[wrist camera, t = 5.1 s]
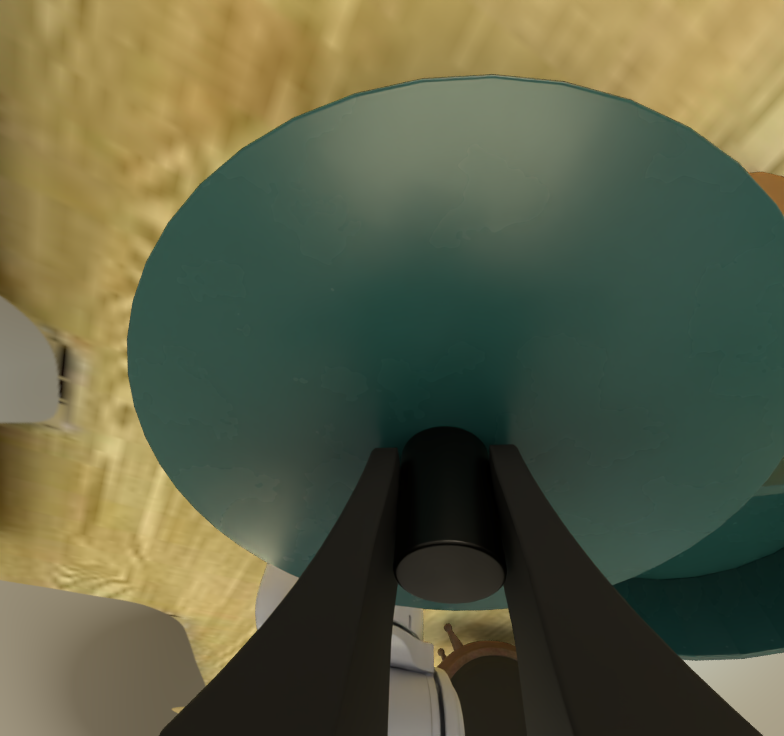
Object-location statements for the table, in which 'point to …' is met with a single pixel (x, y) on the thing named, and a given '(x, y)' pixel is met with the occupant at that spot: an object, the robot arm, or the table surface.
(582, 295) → the lid
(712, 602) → the pot
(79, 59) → the table surface
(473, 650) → the alarm clock
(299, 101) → the table surface
